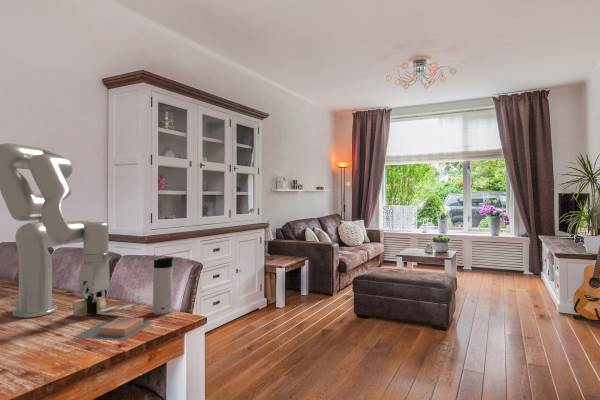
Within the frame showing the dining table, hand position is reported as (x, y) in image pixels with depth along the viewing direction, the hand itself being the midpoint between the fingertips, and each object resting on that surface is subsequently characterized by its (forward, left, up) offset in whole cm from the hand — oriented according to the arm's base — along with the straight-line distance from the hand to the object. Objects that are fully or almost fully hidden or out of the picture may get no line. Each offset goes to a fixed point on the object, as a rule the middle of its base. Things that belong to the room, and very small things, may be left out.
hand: (95, 311), depth 128 cm
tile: (+13, -11, 0) cm, 17 cm away
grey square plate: (+15, -11, -2) cm, 19 cm away
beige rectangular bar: (+2, 0, 0) cm, 2 cm away
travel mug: (+21, +7, -2) cm, 22 cm away
